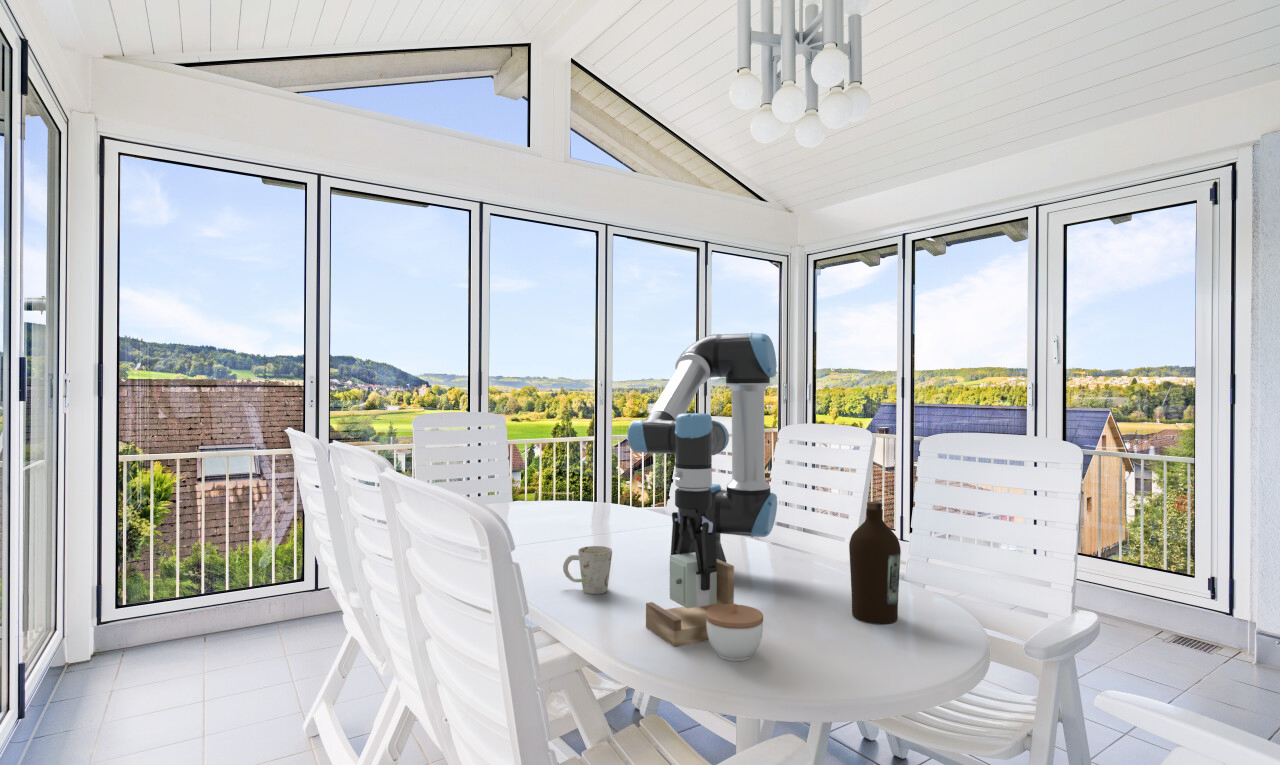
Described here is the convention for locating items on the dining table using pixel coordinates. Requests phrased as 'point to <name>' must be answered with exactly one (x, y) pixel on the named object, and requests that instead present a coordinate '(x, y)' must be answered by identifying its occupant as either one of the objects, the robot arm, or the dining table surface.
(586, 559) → the mug
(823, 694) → the dining table surface
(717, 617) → the lidded jar
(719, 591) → the wooden stand
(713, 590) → the cabinet block
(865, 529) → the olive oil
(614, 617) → the dining table surface
